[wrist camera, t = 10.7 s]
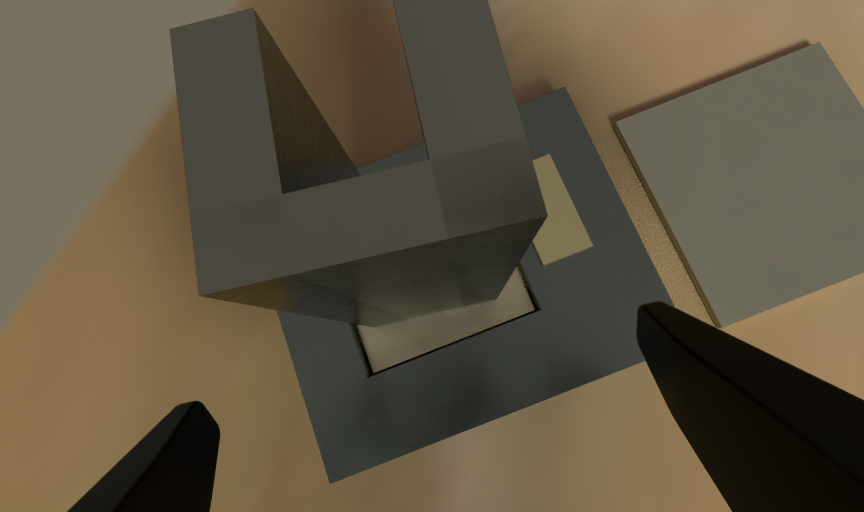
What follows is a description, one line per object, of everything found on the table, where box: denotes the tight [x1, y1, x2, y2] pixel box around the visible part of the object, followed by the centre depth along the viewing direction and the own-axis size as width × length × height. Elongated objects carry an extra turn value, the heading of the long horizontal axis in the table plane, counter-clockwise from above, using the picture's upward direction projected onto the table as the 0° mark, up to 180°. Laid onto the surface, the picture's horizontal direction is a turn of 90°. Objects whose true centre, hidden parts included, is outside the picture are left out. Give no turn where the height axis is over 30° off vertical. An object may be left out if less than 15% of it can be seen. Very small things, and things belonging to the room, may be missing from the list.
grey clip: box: [170, 0, 548, 327], centre depth 13 cm, size 4×5×12 cm
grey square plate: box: [613, 42, 864, 328], centre depth 18 cm, size 9×9×1 cm
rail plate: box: [277, 87, 674, 484], centre depth 18 cm, size 11×14×1 cm
